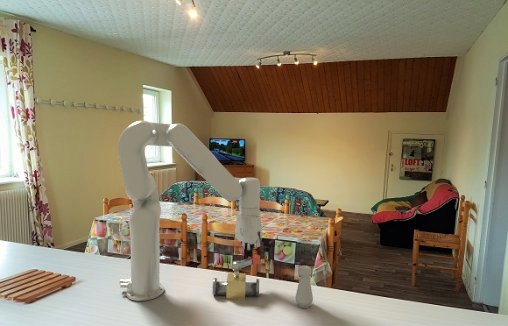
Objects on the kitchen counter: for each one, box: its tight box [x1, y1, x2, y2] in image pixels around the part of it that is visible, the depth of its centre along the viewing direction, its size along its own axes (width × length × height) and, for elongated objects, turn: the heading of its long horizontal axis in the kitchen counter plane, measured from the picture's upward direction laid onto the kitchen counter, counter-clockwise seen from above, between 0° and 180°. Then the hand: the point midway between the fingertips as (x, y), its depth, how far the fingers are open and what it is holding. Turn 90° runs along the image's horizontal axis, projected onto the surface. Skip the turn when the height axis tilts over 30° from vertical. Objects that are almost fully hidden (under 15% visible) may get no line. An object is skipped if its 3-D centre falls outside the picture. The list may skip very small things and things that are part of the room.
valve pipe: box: [212, 270, 260, 300], centre depth 112 cm, size 16×6×9 cm, turn 90°
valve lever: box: [232, 253, 261, 272], centre depth 114 cm, size 12×3×3 cm, turn 134°
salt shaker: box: [295, 265, 314, 309], centre depth 106 cm, size 6×6×13 cm
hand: (248, 258), depth 119 cm, fingers closed
